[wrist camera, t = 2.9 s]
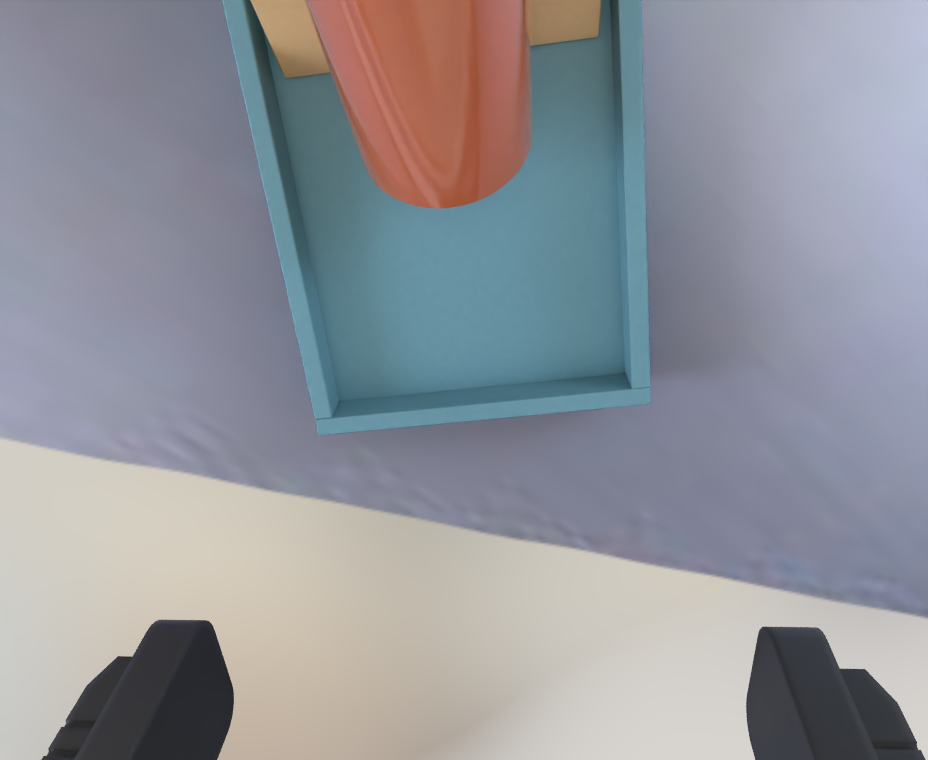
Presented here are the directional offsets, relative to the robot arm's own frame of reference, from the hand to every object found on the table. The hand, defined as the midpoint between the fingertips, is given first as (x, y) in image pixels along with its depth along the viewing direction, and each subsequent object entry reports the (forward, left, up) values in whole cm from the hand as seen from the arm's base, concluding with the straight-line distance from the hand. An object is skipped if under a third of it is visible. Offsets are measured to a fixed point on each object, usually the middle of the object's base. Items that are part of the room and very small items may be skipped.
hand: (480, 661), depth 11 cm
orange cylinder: (+7, -6, -22) cm, 24 cm away
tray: (+5, -4, -23) cm, 24 cm away
